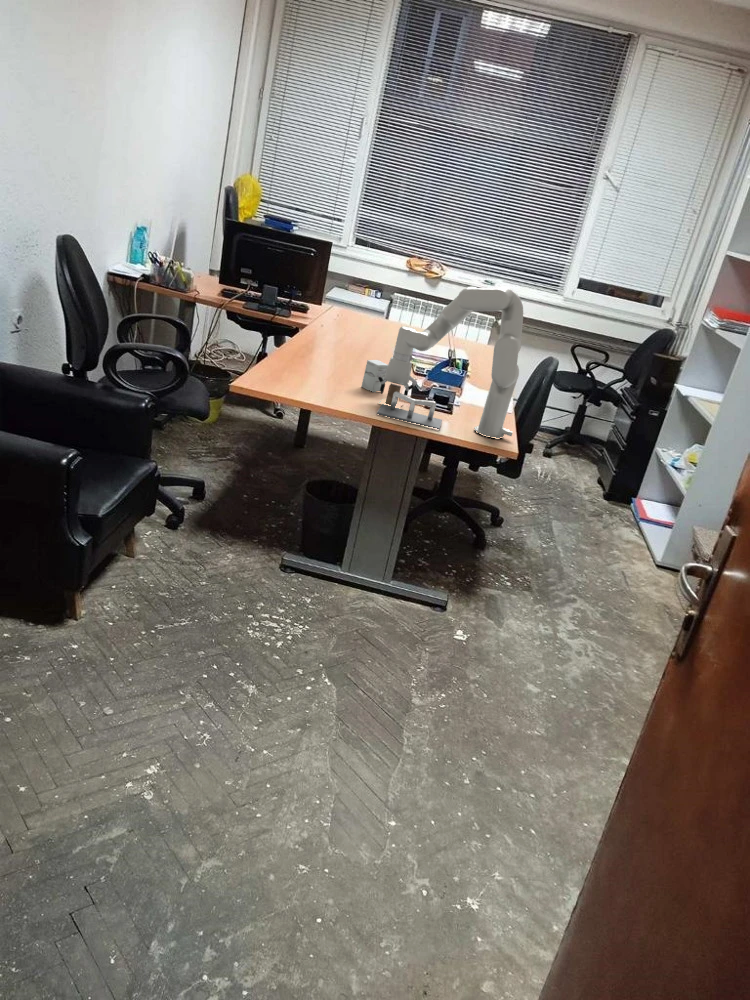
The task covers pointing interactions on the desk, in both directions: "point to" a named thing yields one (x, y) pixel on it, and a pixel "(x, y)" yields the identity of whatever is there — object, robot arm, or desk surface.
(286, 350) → the desk surface
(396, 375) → the robot arm
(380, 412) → the base
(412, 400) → the grey bridge stand
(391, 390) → the walnut block
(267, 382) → the desk surface
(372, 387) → the supplement box
